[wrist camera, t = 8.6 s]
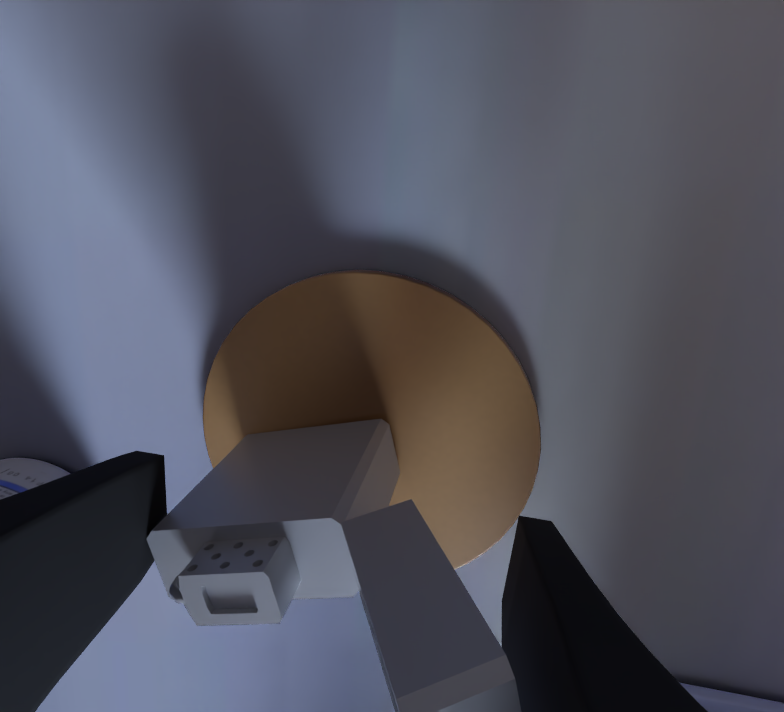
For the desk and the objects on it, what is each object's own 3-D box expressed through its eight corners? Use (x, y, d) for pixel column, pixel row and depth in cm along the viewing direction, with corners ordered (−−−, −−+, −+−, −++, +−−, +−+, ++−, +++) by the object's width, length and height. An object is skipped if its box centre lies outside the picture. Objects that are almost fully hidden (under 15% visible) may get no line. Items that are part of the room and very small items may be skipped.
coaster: (571, 293, 12) (574, 297, 12) (508, 600, 15) (509, 610, 15) (205, 249, 13) (198, 251, 13) (211, 545, 16) (205, 553, 16)
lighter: (259, 491, 15) (19, 798, 8) (241, 435, 15) (-32, 704, 7) (517, 467, 13) (537, 836, 6) (506, 403, 13) (515, 715, 5)
